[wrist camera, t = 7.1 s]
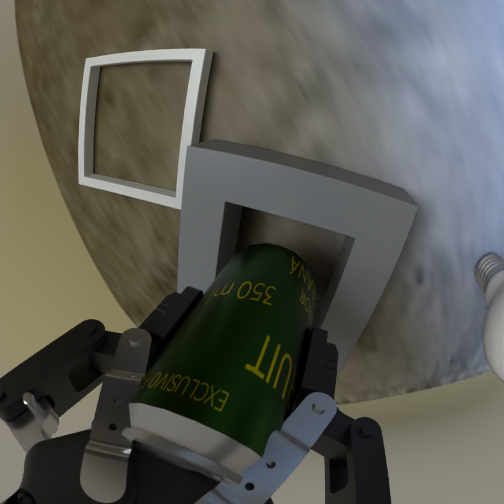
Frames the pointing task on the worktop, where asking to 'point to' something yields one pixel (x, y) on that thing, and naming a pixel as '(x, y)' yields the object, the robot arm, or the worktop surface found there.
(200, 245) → the socket block
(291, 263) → the beer can
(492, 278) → the lightbulb
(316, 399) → the robot arm
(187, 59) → the square frame
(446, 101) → the worktop surface
